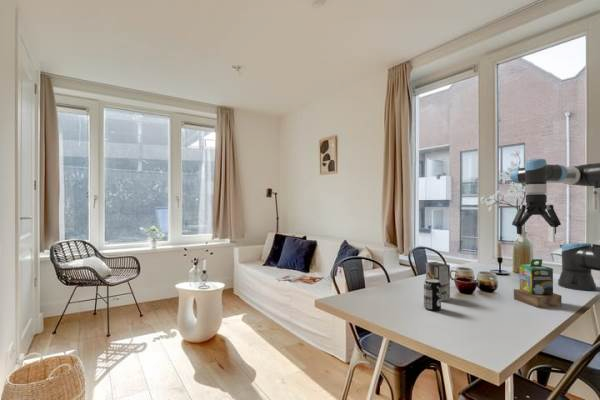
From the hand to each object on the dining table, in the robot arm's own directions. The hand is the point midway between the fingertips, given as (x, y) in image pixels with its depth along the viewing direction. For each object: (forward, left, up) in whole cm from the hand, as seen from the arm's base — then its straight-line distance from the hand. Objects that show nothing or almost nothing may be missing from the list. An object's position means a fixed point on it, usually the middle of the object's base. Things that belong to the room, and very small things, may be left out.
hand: (536, 241), depth 140 cm
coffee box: (+41, -7, -27) cm, 50 cm away
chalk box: (0, 0, -23) cm, 23 cm away
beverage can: (+50, +8, -27) cm, 58 cm away
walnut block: (0, 0, -28) cm, 28 cm away
